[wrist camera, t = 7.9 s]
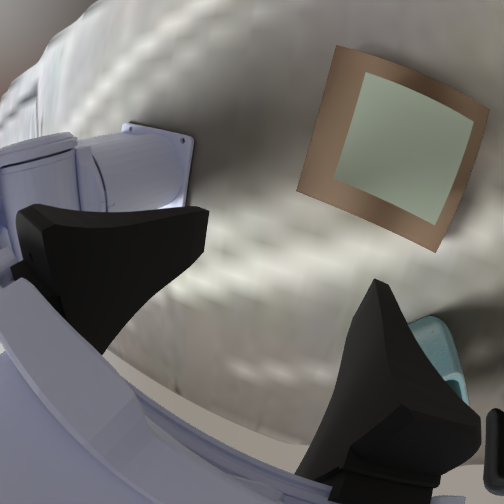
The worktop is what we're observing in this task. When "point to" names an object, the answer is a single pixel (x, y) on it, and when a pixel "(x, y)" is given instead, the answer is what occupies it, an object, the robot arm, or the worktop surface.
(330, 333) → the worktop surface
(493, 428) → the milk frother
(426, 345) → the flower pot
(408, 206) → the cube
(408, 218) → the base slab
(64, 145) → the robot arm
